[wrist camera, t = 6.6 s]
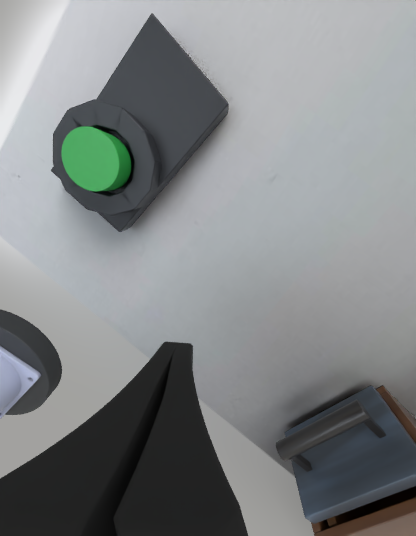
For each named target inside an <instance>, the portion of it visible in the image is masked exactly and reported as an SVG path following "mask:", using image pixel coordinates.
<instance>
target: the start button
mask: <svg viewBox="0 0 416 536" xmlns="http://www.w3.org/2000/svg"><path fill="white" fill-rule="evenodd" d="M62 161H63V165H64V168H65V170H66V172H67V174H68V175H69V177H70V178H71V179H72V180H73V181H74V182H75V183H76V184H77V185H78V186H80V187H82V188H84V189H86V190H89V191H95V192H97V191H109V190H116V189H119V188H120V187H122V186H123V185H124V184H125V183H126V182H127V180H128V179H129V176H130V173H131V159H130V155H129V153H128V150H127V149H126V147H125V146H124V144H123V143H122V142H121V141H120V140H119V139H118V138H116V137H115V136H113V135H111V134H108V133H106V132H104V131H101V130H99V129H96V128H93V127H89V126H83V127H78V128H76V129H74V130H72V131H71V132H70V133H69V134H68V135H67V136H66V138H65V140H64V142H63V145H62Z"/></svg>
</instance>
